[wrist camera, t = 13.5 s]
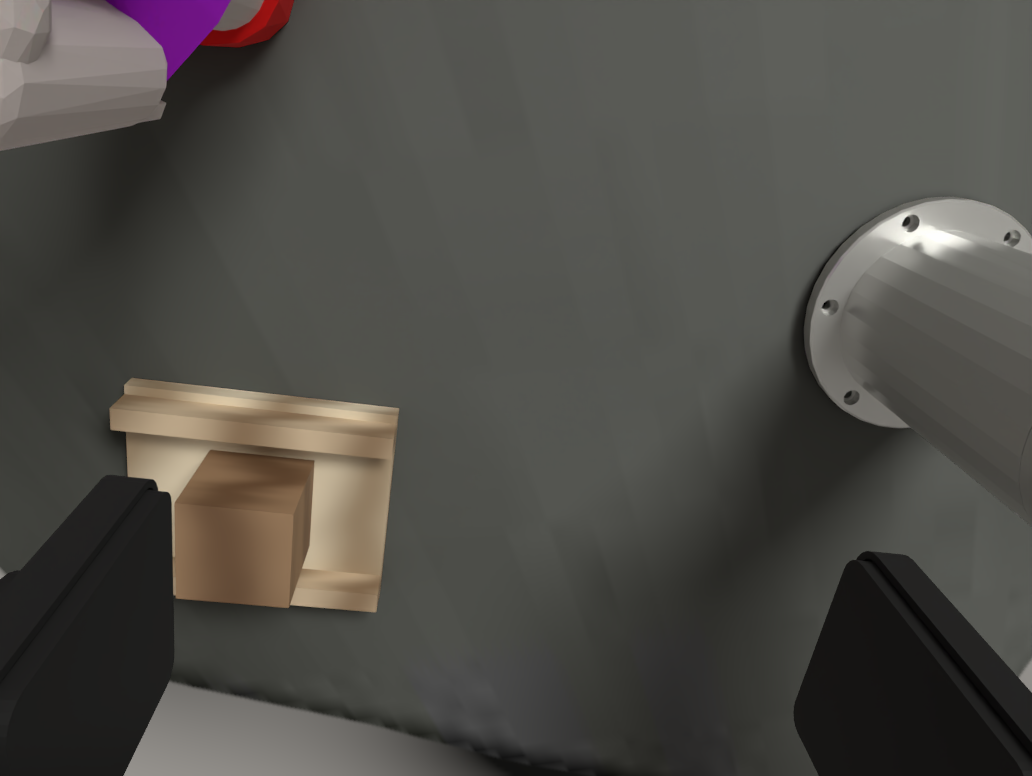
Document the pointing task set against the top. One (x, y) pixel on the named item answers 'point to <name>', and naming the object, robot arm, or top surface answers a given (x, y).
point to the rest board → (282, 433)
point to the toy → (108, 58)
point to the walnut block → (243, 529)
